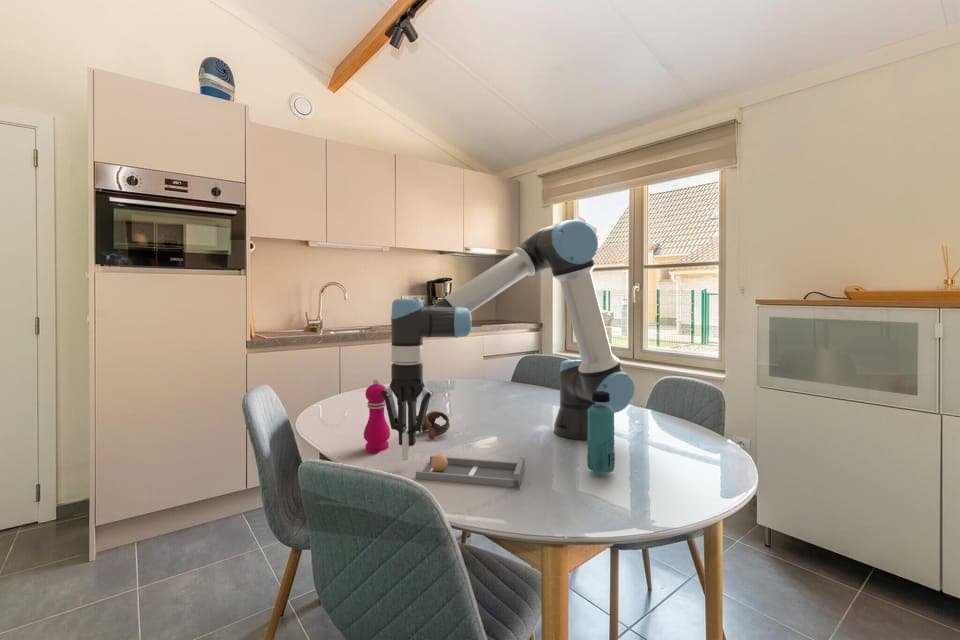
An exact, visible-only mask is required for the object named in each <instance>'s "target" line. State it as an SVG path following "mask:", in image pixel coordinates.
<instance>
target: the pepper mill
mask: <svg viewBox="0 0 960 640" xmlns="http://www.w3.org/2000/svg"><path fill="white" fill-rule="evenodd" d="M380 381H381V380H380V379H379V378H374V379H373V381H372V382H373V384H370V385H369V386H368V387H366V390H365V394H364V395H365V399H367V401H368V402H367V408H368V410H369V414H368V421H367V422H366V425H365V427H364V430H363V431H364V432H363V439H364V440H365V441H366V444H365V452H367V453H369V454H379V453H380V452H383V451H386V450H388V449H389V441H388V440H389V438H390V436H391V430H390V429H391V428H390V426H389V424H388V423H387V420H386V418H385V408H386V403H385V400H384V398H383V396H382V395H381V391H383V390H385V389H387V387H386V386H385V385H383V384H380Z"/></svg>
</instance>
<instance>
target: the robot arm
mask: <svg viewBox="0 0 960 640" xmlns="http://www.w3.org/2000/svg"><path fill="white" fill-rule="evenodd" d="M598 247H599V241H598V236H597V234H596V232H595V230H594V229H593V227H592V226H591V225H590V224H588V223H587V222H585V221H583V220H580V219H569V220H568V219H567V220H562V221H560V222H558V223H555V224H552V225H549V226H545V227H543V228H541V229H539V230H538V231H537V232H535V233H534V234H532V236H530V237H529V238H527V239H526V240H525V241H523V242H522V243H520V244H519V245H518V246H516V247H514V249H513V252H512V253H511V254H510V255H509V256H506V257H505V258H504V259H502V260H501V261H499V262H497V263H496V264H494V265H493V266H491V267H489V269H487V270H485V271H483V272H482V273H480V274H479V275H477V276H476V277H475V278H473V279H471V280H470V281H468V282H466V283H465V284H463V285H462V286H460V287H459V288H457V289H456V290H454V291H452V292H451V293H449V294H448V295H446V296H444V297H443V298H442V299H440V300H439V301H437V302H436V303H434V304H433V305H428V306H424V303H423V302H424V301H423V300H422V299H420V298H416V299H415V298H396V299H394V300H393V301H392V303H391V316H390V325H391V326H390V327H391V329H390V331H391V332H390V335H391V339H390V340H391V353H390V354H391V356H390V357H391V358H390V359H391V362H392V364H391V375H390V376H391V382H390V383H389V387H388V388H387V387H386V389H385V390H383V391H381V395H382V396H383V398H384V400H385V405H386V406H385V408H386V411H387V416H388V420H389V424H390V429H391V430H392V431H394V430H395V431H397V432H398V445H399V446H401V452H402V453H401V457H402V458H401V459H402V461H409V460H410V459H411V458H413V447H414V445H415V444H416V443H417V442H416V437H417V435H416V434H417V432H419V430H421V429H422V428H423V425H424V421H425V417H426V415H427V414H428V413H427V411H428V408H429V405H430V404H429V403H430V400H431V399H432V397H433V395H434V391H432V390H430V391H429V390H428V389H427V388H426V387H425V383H424V380H423V378H424V375H423V374H424V373H423V372H424V365H423V364H422V361H423V358H424V355H423V353H424V352H423V350H424V342H423V341H424V339H425V338H427V339H428V338H456V339H458V338H462V337H465V338H466V337H468V336H469V335H470V333H471V330H472V322H473V321H472V315H471V314H472V312H473V311H475V310H476V309H478V308H480V307H481V306H482V305H484V304H486V303H487V302H489V301H490V300H492V299H493V298H495V297H496V296H497V295H499V294H501V293H503V292H504V291H505V290H507V289H508V288H509V287H511V286H513V285H514V284H516V283H517V282H519V281H520V280H522V279H524V278H525V277H526V276H528V277H529V276H530V277H532V276H534V275H535V274H537V273H539V272H541V271H544V270H546V269H549V268H550V270H551V273H552V277H553V278H555V279H557V280H558V281H559V282H560V285H561V289H562V292H563V296H564V300H565V303H566V304H565V305H566V306H567V307H566V308H567V311H568V315H569V319H570V322H571V327H572V330H573V333H574V337H575V341H576V344H577V345H576V346H577V348H578V352H579V356H580V359H568V360H563V361H562V362H560V366H559V367H560V368H559V409H558V412H557V416H556V418H555V421H554V424H553V426H554V427H553V432H554V433H555V434H556V435H558V436H560V437H562V438H563V437H564V438H567V439H572V440H587V436H588V409H589V408H590V407H591V406H592V405H595V404H603V405H608V406H610V407H611V408H612V409H613V410H614V412H615V413H614V414H616V413H620V412H621V411H623V410H625V409H626V408H627V407H628V406H629V404H630V403H631V401H632V400H633V398H634V394H635V384H634V380H633V379H632V377H631V376H630V375H629V374H628V373H626V372H624V371H623V368H622V365H621V361H620V358H618V357H617V356H615V355H614V354H613V353H612V348H611V344H610V340H609V337H608V332H607V329H606V328H607V327H606V326H605V321H604V317H603V314H602V313H603V312H602V309H601V305H600V302H599V297H598V294H597V290H596V286H595V281H594V279H593V275H592V271H594V268H595V267H596V263H595V262H596V261H595V259H594V257H595V256H596V255H597V251H598V249H599V248H598ZM594 391H605V392H608V393H609V396H610V402H595V401H592V395H593V392H594ZM393 394H394V395H393ZM421 394H422V395H421ZM420 395H421V398H422V400H421V403H420V407H419V410H418V415H417V403H418V398H419V397H420ZM394 396H395V397H396V402H397V403H396V402H395V399H394ZM396 404H397V408H396ZM416 416H418V418H417V421H416ZM416 422H417V423H416ZM421 431H422V430H421Z"/></svg>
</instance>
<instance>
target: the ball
mask: <svg viewBox="0 0 960 640" xmlns="http://www.w3.org/2000/svg"><path fill="white" fill-rule="evenodd" d="M433 456H434V457H433V458H432V460H431V466H432V468H433V469H434V470H435V471H443V470H444V469H445V468H446V467H447V464H448V461H447V458H446V457H447V456H445V455H444V454H441V453H438V454H435V455H433Z"/></svg>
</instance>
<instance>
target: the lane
mask: <svg viewBox="0 0 960 640" xmlns="http://www.w3.org/2000/svg"><path fill="white" fill-rule="evenodd" d="M434 456H435V455H430V456H429V462H428V464H427V465H426V466H425V467H424V468H423V470H416V471H415V479H417V480H424V481H425V480H428V481H440V482H449V483H461V484H473V485H484V486H495V487H504V488H505V487H506V488H516V489H517V488H518V491H520V488H521V484H522V481H523V478H524V475H525V470H526V467H525V465H526V463H525V462H526V461H525V456H519V457H518V460H517V461H508V460H507V461H505V460H504V461H503V460H492V459H491V460H490V459H479V458H468V457H467V458H465V457H451V456H445V457H446V458H447V461H448V464H447V467H446V468H445V469H444V470H443V471H435V470H434V469H433V468H432V466H431V460H432V458H433V457H434Z"/></svg>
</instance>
